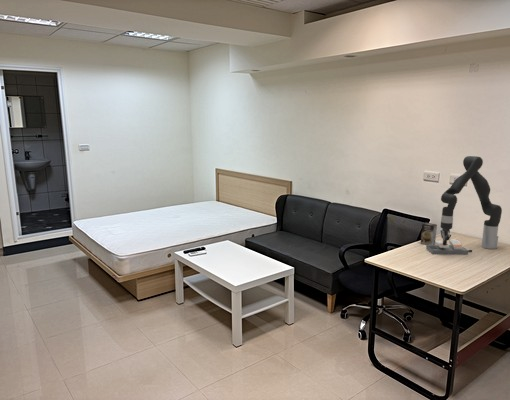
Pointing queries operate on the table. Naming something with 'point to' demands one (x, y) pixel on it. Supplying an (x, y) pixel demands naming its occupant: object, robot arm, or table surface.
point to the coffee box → (428, 233)
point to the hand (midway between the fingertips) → (444, 245)
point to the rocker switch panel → (447, 250)
